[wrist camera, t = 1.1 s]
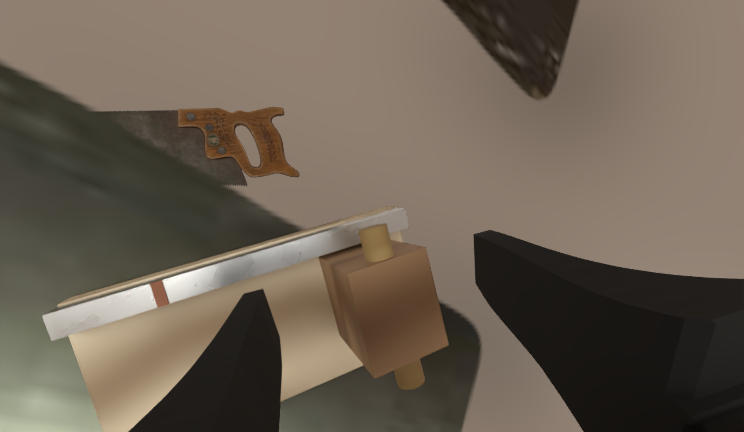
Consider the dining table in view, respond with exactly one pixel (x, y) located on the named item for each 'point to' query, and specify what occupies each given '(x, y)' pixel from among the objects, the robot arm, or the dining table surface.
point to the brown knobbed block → (385, 304)
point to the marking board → (210, 318)
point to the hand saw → (211, 139)
